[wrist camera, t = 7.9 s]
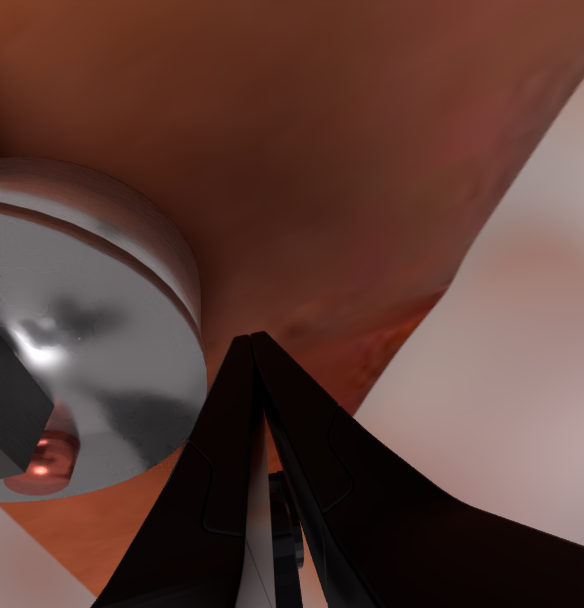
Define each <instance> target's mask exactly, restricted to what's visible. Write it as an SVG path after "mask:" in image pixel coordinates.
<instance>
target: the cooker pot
mask: <svg viewBox="0 0 584 608" xmlns="http://www.w3.org/2000/svg"><path fill="white" fill-rule="evenodd" d="M0 202H3V203H7V204H11V205H15V206H19V207H24V208H28V209H32V210H36V211H39V212H42V213H45V214H48V215H50V216H53V217H56V218H59V219H62V220H65V221H68V222H71V223H73V224H75V225H77V226H79V227H82V228H84V229H86V230H88V231H90V232H92V233H95V234H97V235H99V236H101V237H103V238H105V239H107V240H108V241H110V242H112V243H113V244H115V245H117V246H118V247H120V248H122V249H123V250H125V251H127V252H129V253H130V254H131V255H133V256H134V257H136V258H137V259H138V260H140V261H141V262H142V263H144V264H145V265H146V266H148V267H149V268H150V269H152V270H153V271H154V272H155V273H156V274H157V275H158V276H159V277H160V278H161V279H162V280H163V281H164V282H166V283H167V284H168V285H169V286H170V287H171V288H172V290H173V291H174V292H175V293H176V294H177V296H178V297H179V298H180V299H181V301H182V302H183V303H184V304H185V306H186V307H187V309H188V310H189V312H190V314H191V315H192V317H193V319H194V320H195V322H196V324H197V327H198V329H199V332H200V334H201V289H200V278H199V272H198V267H197V265H196V262H195V259H194V256H193V254H192V252H191V250H190V248H189V246H188V244H187V242H186V240H185V239H184V237H183V236H182V234H181V233H180V232H179V230H178V229H177V227H176V226H175V225H174V224H173V223H172V222H171V220H170V219H169V218H168V217H167V216H166V215H165V214H164V213H163V212H162V211H161V210H160V209H159V208H158V207H156V206H155V205H154V204H153V203H152V202H151V201H150V200H148V199H147V198H145V197H144V196H143V195H141V194H140V193H138V192H137V191H136V190H134V189H133V188H131V187H129V186H127V185H125V184H124V183H122V182H120V181H118V180H116V179H115V178H112V177H110V176H108V175H105V174H103V173H101V172H98V171H96V170H94V169H90V168H87V167H84V166H81V165H77V164H74V163H70V162H65V161H60V160H54V159H49V158H37V157H9V158H0Z"/></svg>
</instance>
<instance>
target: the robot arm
mask: <svg viewBox="0 0 584 608" xmlns="http://www.w3.org/2000/svg"><path fill="white" fill-rule="evenodd" d="M250 339H251V340H250ZM262 402H263V403H262ZM263 407H264V408H263ZM264 411H265V415H266V419H267V422H268V425H269V428H270V431H271V434H272V437H273V440H274V443H275V447H276V450H277V453H278V456H279V459H280V462H281V465H282V468H283V470H282V471H277V473H271V474H268V463H267V446H266V429H265V415H264ZM186 440H187V442H186V443H185V445H184V447H183V450H182V452H181V454H180V456H179V458H178V460H177V462H176V464H175V467H174V469H173V471H172V473H171V475H170V477H169V479H168V481H167V483H166V484H165V486H164V488H163V490H162V491H161V493H160V495H159V497H158V499H157V500H156V502H155V504H154V506H153V507H152V509H151V511H150V512H149V514H148V516H147V518H146V519H145V521H144V523H143V524H142V526H141V528H140V529H139V531H138V533H137V535H136V536H135V538H134V540H133V541H132V543H131V545H130V546H129V548H128V550H127V551H126V553H125V555H124V557H123V558H122V560H121V562H120V563H119V565H118V567H117V568H116V570H115V572H114V573H113V575H112V577H111V578H110V580H109V582H108V583H107V585H106V586H105V588H104V589H103V591H102V592H101V594H100V595H99V597H98V598H97V599H96V601H95V602H94V603H93V605H92V606H91V607H90V608H303V604H302V597H301V589H300V581H299V574H298V569H300V568H302V567H303V563H304V547H303V538H302V530H301V526H302V528H303V532H304V535H305V538H306V541H307V544H308V547H309V550H310V553H311V556H312V559H313V562H314V565H315V568H316V571H317V574H318V577H319V581H320V583H321V586H322V590H323V593H324V596H325V598H326V602H327V603H328V608H584V546H583V545H580V544H577V543H574V542H571V541H569V540H566V539H563V538H560V537H557V536H554V535H552V534H549V533H546V532H543V531H540V530H537V529H535V528H532V527H529V526H526V525H523V524H520V523H518V522H515V521H512V520H509V519H506V518H503V517H501V516H498V515H495V514H492V513H489V512H486V511H484V510H481V509H478V508H475V507H473V506H470V505H468V504H466V503H464V502H462V501H460V500H458V499H457V498H455V497H453V496H451V495H450V494H448V493H447V492H445V491H444V490H442V489H441V488H439V487H438V486H437V485H436V484H434V483H433V482H432V481H430V480H429V479H428V478H426V477H425V476H424V475H423V474H421V473H420V472H419V471H417V470H416V469H415V468H414V467H412V466H411V465H410V464H408V463H407V462H406V461H404V460H403V459H402V458H401V457H399V456H398V455H397V454H395V453H394V452H393V451H392V450H390V449H389V448H388V447H387V446H385V445H384V444H383V443H382V442H380V441H379V440H378V439H377V438H375V437H374V436H373V435H372V434H371V433H369V432H368V431H367V430H366V429H365V428H364V427H363V426H361V425H360V424H359V423H358V422H357V421H356V420H355V419H354V418H353V417H352V416H351V415H350V414H349V413H348V412H347V411H346V410H345V409H344V408H343V407H342V406H339V404H338V403H337V402H336V401H335V400H334V399H333V398H332V397H331V396H330V395H329V394H328V393H327V392H326V391H325V390H324V389H323V388H322V387H321V386H320V385H319V384H318V383H317V382H316V381H315V380H314V379H313V378H312V377H311V376H310V375H309V374H308V373H307V372H306V371H305V370H304V369H303V368H302V367H301V366H300V365H299V364H298V363H297V362H296V361H295V360H294V359H293V358H292V357H291V356H290V355H289V354H288V353H287V352H286V351H285V350H284V349H283V348H282V347H281V346H280V345H279V344H278V343H277V342H276V341H275V340H274V339H273V338H272V337H271V336H270V335H269V334H268V333H266V332H265V331H261V332H256V333H252V334H250V336H249V335H248V334H246V335H241V336H236V337H234V338H233V340H232V342H231V344H230V346H229V349H228V351H227V353H226V355H225V357H224V360H223V362H222V364H221V366H220V368H219V371H218V373H217V375H216V377H215V379H214V382H213V384H212V386H211V388H210V390H209V393H208V395H207V397H206V399H205V401H204V404H203V406H202V408H201V410H200V412H199V415H198V417H197V419H196V421H195V423H194V426H193V428H192V430H191V432H190V435H189V436H188V437H187V439H186ZM300 523H301V525H300Z"/></svg>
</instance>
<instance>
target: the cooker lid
mask: <svg viewBox="0 0 584 608" xmlns="http://www.w3.org/2000/svg"><path fill="white" fill-rule="evenodd" d="M206 393H207V363H206V352H205V348H204V343H203V339H202V337H201V334H200V332H199V329H198V327H197V324H196V322H195V320H194V319H193V317H192V315H191V314H190V312H189V310H188V309H187V307H186V306H185V304H184V303H183V302H182V301H181V299H180V298H179V297H178V296H177V294H176V293H175V292H174V291H173V290H172V288H171V287H170V286H169V285H168V284H167V283H166V282H164V281H163V280H162V279H161V278H160V277H159V276H158V275H157V274H156V273H155V272H154V271H153V270H152V269H150V268H149V267H148V266H146V265H145V264H144V263H142V262H141V261H140V260H138V259H137V258H136V257H134V256H133V255H131V254H130V253H129V252H127V251H125V250H123V249H122V248H120V247H118V246H117V245H115V244H113V243H112V242H110V241H108V240H107V239H105V238H103V237H101V236H99V235H97V234H95V233H92V232H90V231H88V230H86V229H84V228H82V227H79V226H77V225H75V224H73V223H71V222H68V221H65V220H62V219H59V218H56V217H53V216H50V215H48V214H45V213H42V212H39V211H36V210H32V209H28V208H24V207H19V206H15V205H11V204H7V203H3V202H0V502H27V501H39V500H49V499H56V498H63V497H70V496H74V495H79V494H84V493H88V492H92V491H96V490H99V489H103V488H106V487H110V486H112V485H115V484H118V483H120V482H123V481H126V480H128V479H130V478H133V477H135V476H137V475H139V474H141V473H143V472H145V471H147V470H148V469H150V468H152V467H153V466H155V465H157V464H158V463H160V462H161V461H163V460H164V459H165V458H167V457H168V456H169V455H171V454H172V453H173V452H174V451H175V450H176V449H177V448H178V447H179V446H180V445H181V444H182V443H183V442H184V441H185V440H186V439H187V437H188V436H189V435H190V432H191V430H192V428H193V426H194V423H195V421H196V419H197V417H198V415H199V412H200V410H201V408H202V406H203V404H204V401H205V399H206Z"/></svg>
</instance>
